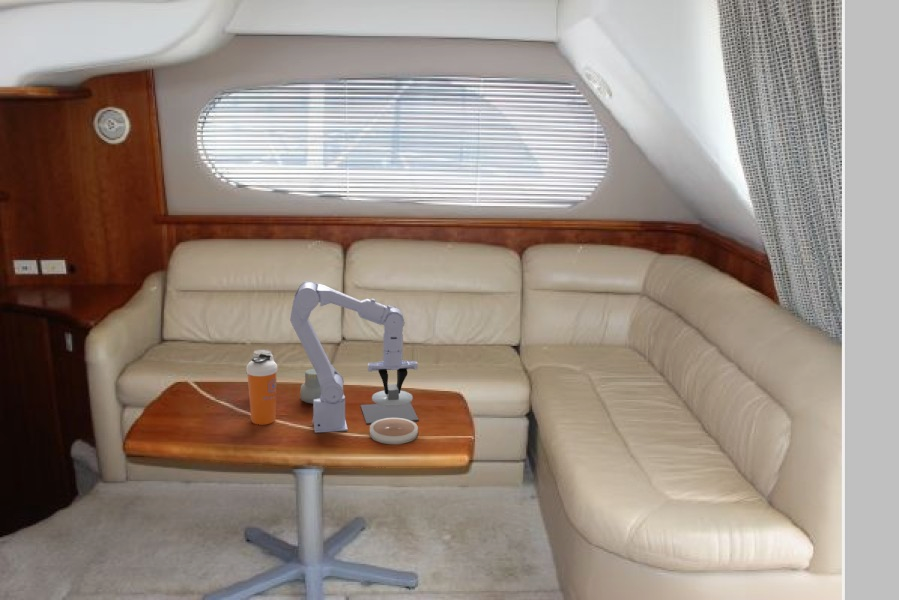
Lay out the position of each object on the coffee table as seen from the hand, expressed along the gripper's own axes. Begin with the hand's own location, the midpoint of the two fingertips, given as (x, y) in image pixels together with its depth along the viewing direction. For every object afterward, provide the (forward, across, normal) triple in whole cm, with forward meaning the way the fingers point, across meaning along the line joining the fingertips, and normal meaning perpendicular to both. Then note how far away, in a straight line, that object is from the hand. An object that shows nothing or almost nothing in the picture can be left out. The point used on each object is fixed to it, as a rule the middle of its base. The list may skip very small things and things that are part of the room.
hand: (392, 392), depth 216 cm
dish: (+10, 0, -6) cm, 12 cm away
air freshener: (+11, -22, +22) cm, 33 cm away
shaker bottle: (+11, -38, +9) cm, 40 cm away
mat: (+10, 0, +9) cm, 14 cm away
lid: (+2, 0, 0) cm, 2 cm away
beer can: (+11, -38, +29) cm, 49 cm away
